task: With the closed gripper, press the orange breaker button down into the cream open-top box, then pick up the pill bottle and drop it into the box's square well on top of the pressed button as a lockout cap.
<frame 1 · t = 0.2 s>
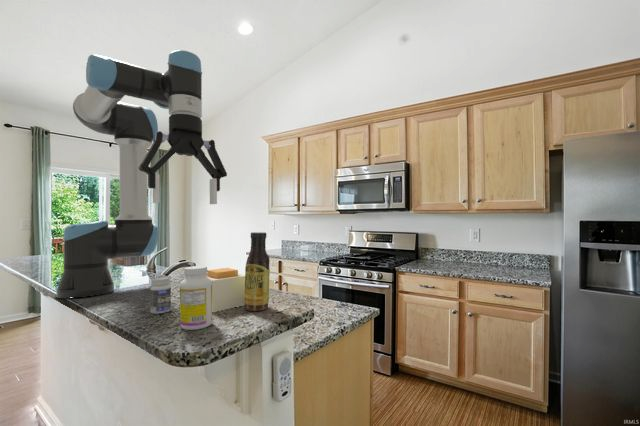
hand: (186, 203, 79), 27 cm above the countertop, fingers open, 13 cm apart
pill bottle: (160, 312, 83), on the countertop
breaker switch: (222, 274, 88), point 8 cm above the countertop, slide at 0.0 cm
supplement bottle: (196, 326, 71), on the countertop
sauce bottle: (257, 309, 83), on the countertop
cream open-top box: (222, 305, 88), on the countertop
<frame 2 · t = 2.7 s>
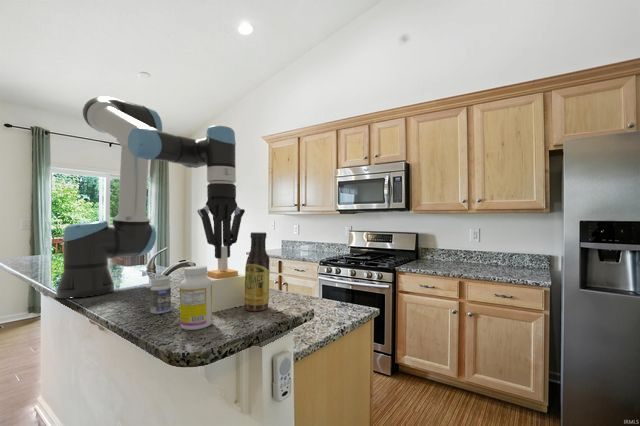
hand: (222, 270, 88), 10 cm above the countertop, fingers closed
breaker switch: (222, 275, 88), point 8 cm above the countertop, slide at 0.2 cm, touching gripper
everything else where it was.
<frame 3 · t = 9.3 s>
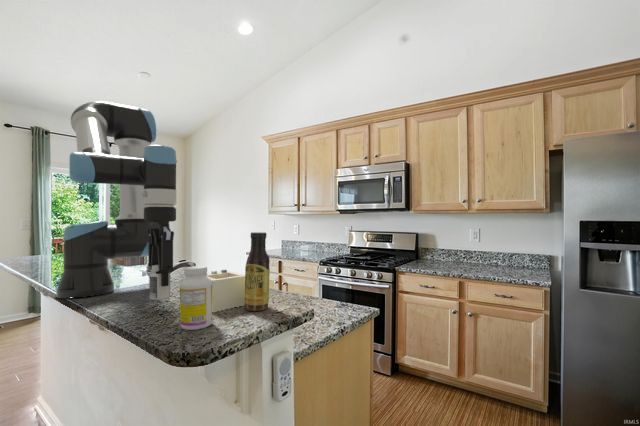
hand: (160, 296, 83), 4 cm above the countertop, fingers closed on pill bottle, 5 cm apart
pill bottle: (160, 298, 83), point 3 cm above the countertop, touching gripper
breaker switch: (222, 285, 88), point 5 cm above the countertop, slide at 3.0 cm
everything else where it was.
when the fingers open (9 cm above the countertop, at t = 13.0 s): pill bottle drops 2 cm, resting on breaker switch.
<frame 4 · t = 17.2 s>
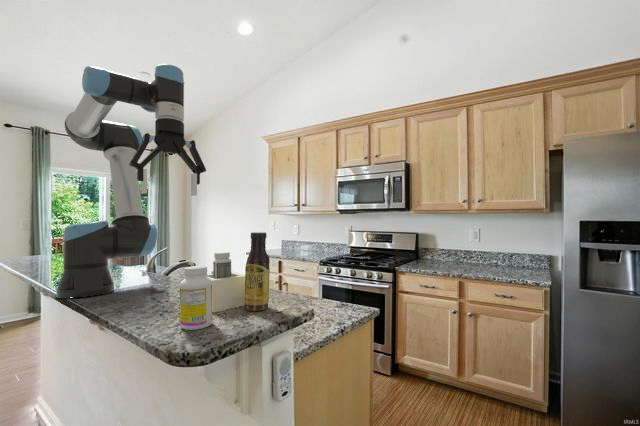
hand: (170, 194, 92), 31 cm above the countertop, fingers open, 13 cm apart
pill bottle: (222, 283, 88), point 6 cm above the countertop, touching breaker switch
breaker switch: (222, 287, 88), point 5 cm above the countertop, slide at 3.6 cm, touching pill bottle
everything else where it was.
at the end: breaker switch slide at 3.6 cm; pill bottle 0.0 cm off-centre on the cream open-top box, point 5.8 cm above the cream open-top box's base; pill bottle tilted 0° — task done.
